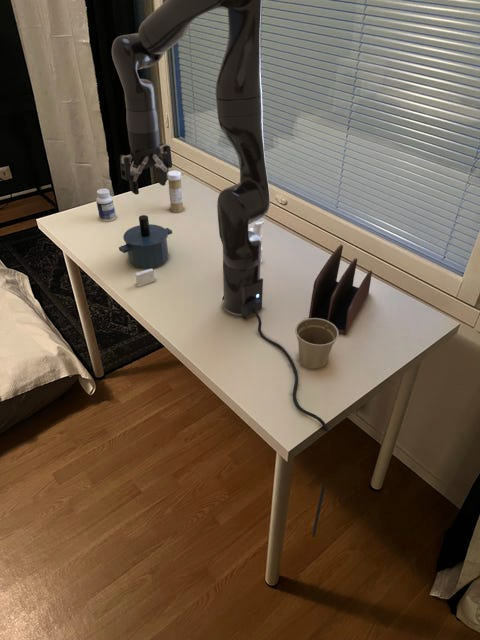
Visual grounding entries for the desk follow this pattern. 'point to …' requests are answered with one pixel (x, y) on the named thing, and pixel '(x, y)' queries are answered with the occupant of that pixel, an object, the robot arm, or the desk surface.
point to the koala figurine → (257, 230)
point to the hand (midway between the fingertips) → (149, 188)
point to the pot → (147, 254)
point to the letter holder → (338, 294)
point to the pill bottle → (105, 205)
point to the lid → (145, 234)
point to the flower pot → (315, 341)
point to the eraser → (144, 277)
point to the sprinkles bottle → (175, 191)
